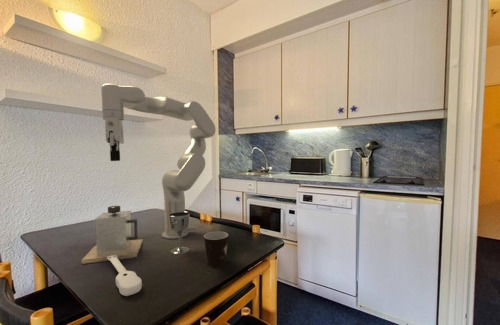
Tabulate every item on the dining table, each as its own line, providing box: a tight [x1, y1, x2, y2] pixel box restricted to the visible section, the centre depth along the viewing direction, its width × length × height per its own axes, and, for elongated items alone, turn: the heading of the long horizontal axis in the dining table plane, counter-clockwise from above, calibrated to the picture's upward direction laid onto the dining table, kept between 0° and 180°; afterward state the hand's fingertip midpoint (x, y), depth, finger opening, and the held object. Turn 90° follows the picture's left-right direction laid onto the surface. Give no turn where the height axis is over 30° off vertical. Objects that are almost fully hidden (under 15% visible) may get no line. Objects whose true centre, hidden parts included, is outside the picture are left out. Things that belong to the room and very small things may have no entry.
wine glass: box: [169, 211, 191, 255], centre depth 95 cm, size 8×8×15 cm
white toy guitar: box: [107, 255, 143, 297], centre depth 74 cm, size 28×6×3 cm, turn 42°
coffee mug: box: [203, 230, 229, 268], centre depth 82 cm, size 12×9×10 cm
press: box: [81, 210, 144, 265], centre depth 94 cm, size 18×16×15 cm
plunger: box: [107, 205, 121, 215], centre depth 94 cm, size 8×8×16 cm
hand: (115, 160), depth 96 cm, fingers closed
